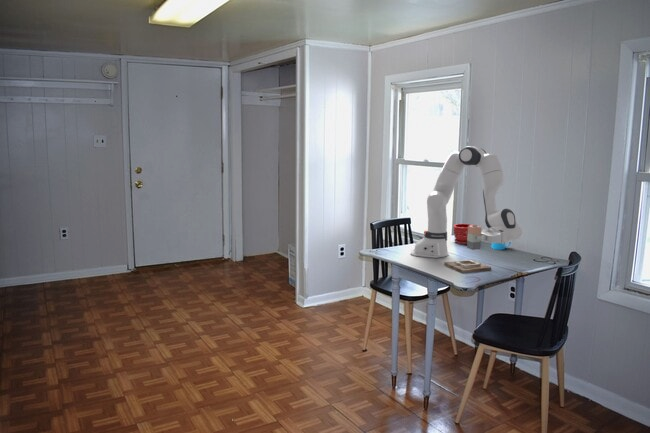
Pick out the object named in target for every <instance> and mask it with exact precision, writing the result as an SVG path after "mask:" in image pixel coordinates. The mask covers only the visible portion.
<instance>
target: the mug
mask: <svg viewBox="0 0 650 433" xmlns="http://www.w3.org/2000/svg"><path fill="white" fill-rule="evenodd" d="M511 244H512V242H508V244H507V245H506V242H505V243H504V244H499V243H491V249H492V248H493V250H499V251H500V250H505V249H506V248H507V247H509V246H510V245H511Z"/></svg>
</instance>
